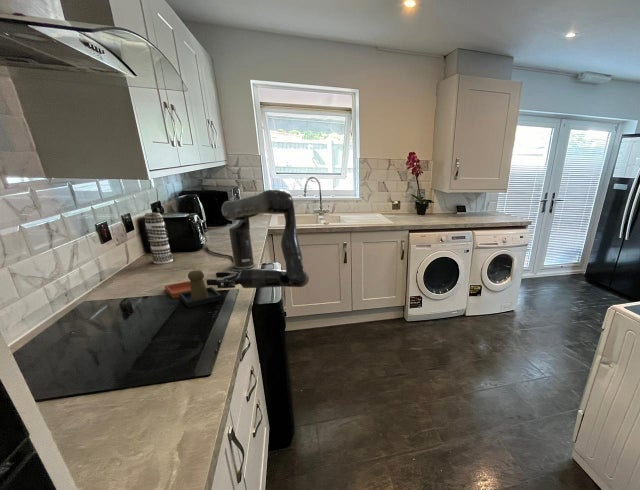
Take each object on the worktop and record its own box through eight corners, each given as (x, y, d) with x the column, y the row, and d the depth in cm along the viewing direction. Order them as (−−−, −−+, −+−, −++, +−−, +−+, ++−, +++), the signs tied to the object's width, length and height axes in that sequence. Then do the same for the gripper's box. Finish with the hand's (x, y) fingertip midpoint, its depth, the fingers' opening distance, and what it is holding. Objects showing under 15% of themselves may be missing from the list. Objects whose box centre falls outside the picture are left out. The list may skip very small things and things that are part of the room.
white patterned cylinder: (177, 258, 174) (167, 212, 165) (167, 264, 165) (156, 214, 156) (159, 258, 173) (149, 211, 164) (148, 263, 164) (136, 214, 156)
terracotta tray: (165, 290, 133) (164, 285, 133) (197, 283, 141) (196, 279, 141) (173, 298, 126) (172, 293, 125) (205, 291, 134) (205, 286, 133)
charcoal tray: (180, 298, 126) (179, 293, 126) (212, 291, 134) (211, 286, 134) (188, 307, 119) (187, 302, 118) (222, 299, 127) (221, 294, 126)
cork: (187, 298, 125) (182, 272, 121) (203, 293, 130) (198, 268, 126) (197, 302, 123) (192, 274, 119) (212, 297, 128) (207, 270, 124)
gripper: (259, 264, 132) (217, 263, 130) (248, 275, 118) (201, 275, 116) (261, 281, 134) (220, 281, 132) (251, 294, 121) (205, 294, 119)
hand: (211, 278), depth 124 cm, fingers open, 8 cm apart
